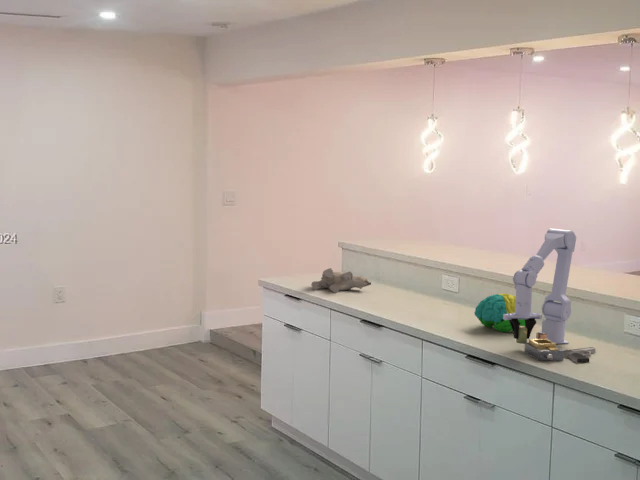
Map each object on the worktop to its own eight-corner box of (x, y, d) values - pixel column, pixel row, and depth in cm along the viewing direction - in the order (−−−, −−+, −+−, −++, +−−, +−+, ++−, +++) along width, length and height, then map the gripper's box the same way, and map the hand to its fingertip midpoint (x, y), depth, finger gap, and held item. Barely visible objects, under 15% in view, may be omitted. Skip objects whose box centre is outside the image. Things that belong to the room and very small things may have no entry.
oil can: (514, 341, 279) (515, 325, 278) (524, 341, 280) (524, 325, 279) (520, 345, 274) (521, 329, 273) (530, 344, 274) (531, 329, 273)
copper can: (533, 346, 282) (534, 331, 281) (543, 346, 282) (544, 331, 281) (538, 349, 278) (539, 334, 277) (547, 349, 278) (548, 334, 278)
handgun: (615, 360, 267) (590, 351, 278) (615, 354, 267) (591, 346, 278) (577, 364, 260) (554, 356, 271) (577, 359, 260) (554, 350, 271)
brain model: (492, 335, 296) (496, 298, 295) (464, 325, 313) (467, 290, 312) (538, 333, 306) (542, 297, 305) (508, 323, 323) (511, 289, 322)
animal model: (350, 259, 373) (367, 258, 388) (306, 275, 388) (324, 273, 402) (358, 287, 371) (374, 284, 386) (314, 302, 386) (331, 298, 400)
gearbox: (524, 351, 274) (525, 338, 274) (547, 351, 276) (548, 338, 275) (542, 362, 260) (543, 349, 259) (566, 362, 262) (567, 348, 261)
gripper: (509, 305, 270) (507, 341, 272) (546, 304, 273) (544, 340, 274) (501, 301, 277) (499, 336, 279) (538, 300, 280) (536, 335, 281)
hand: (521, 338), depth 277 cm, fingers closed on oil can, 4 cm apart
